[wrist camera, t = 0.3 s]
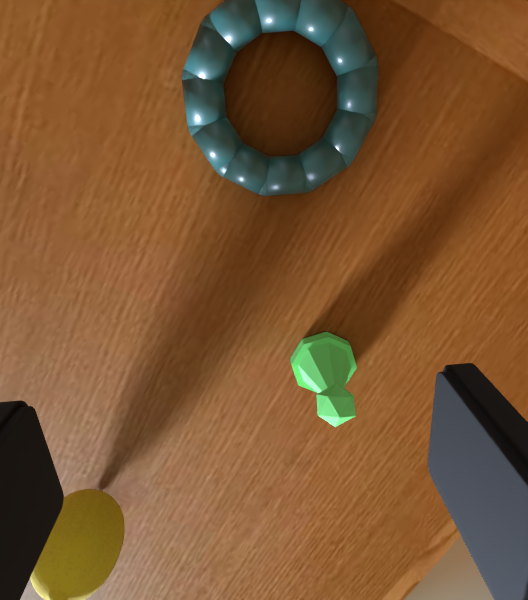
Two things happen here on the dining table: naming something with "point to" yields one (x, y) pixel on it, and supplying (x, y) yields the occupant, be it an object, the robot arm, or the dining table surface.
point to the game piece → (326, 374)
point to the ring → (217, 62)
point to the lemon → (80, 547)
